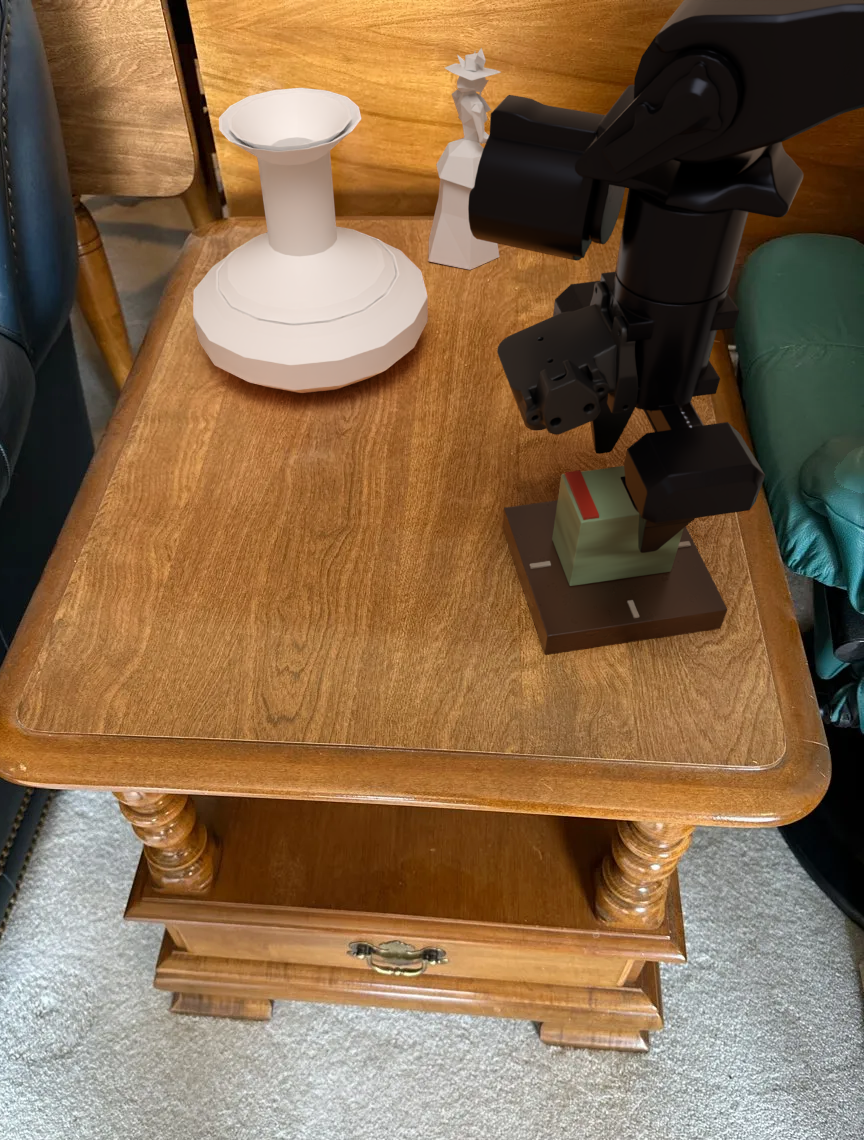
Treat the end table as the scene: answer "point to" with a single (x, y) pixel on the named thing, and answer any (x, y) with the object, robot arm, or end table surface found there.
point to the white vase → (305, 262)
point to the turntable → (606, 591)
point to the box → (603, 530)
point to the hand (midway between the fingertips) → (624, 498)
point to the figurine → (462, 173)
